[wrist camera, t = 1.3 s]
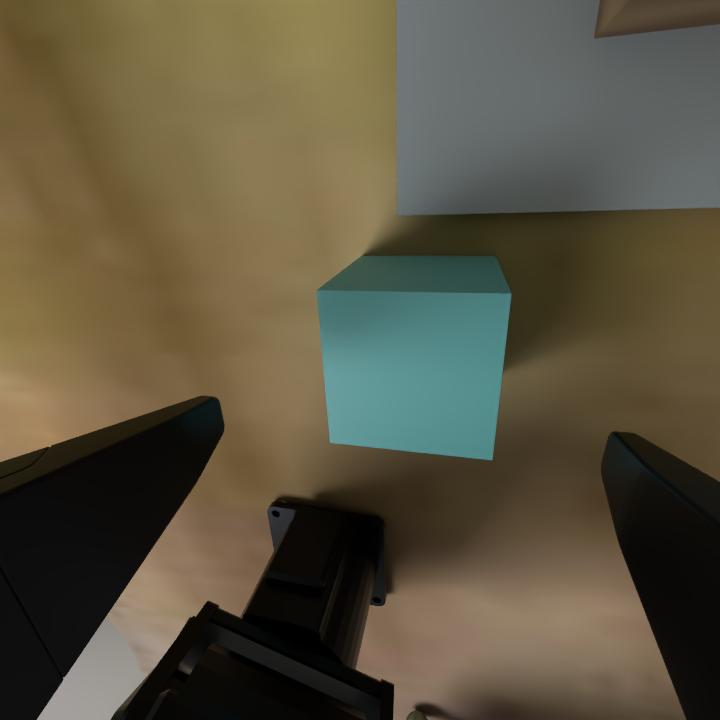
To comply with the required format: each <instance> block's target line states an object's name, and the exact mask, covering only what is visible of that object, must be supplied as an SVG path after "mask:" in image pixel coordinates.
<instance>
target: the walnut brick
mask: <svg viewBox="0 0 720 720" xmlns="http://www.w3.org/2000/svg"><path fill="white" fill-rule="evenodd" d="M717 24H720V0H600V3H599V10H598V16H597V22H596V28H595V35H594V39H595V38H603V37H612V36H621V35H630V34H638V33H647V32H656V31H665V30H674V29H682V28H691V27H700V26H709V25H717Z"/></svg>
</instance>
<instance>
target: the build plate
mask: <svg viewBox="0 0 720 720" xmlns="http://www.w3.org/2000/svg"><path fill="white" fill-rule="evenodd" d="M599 3H600V0H397V216H408V215H447V214H486V213H526V212H565V211H604V210H643V209H682V208H720V24H717V25H709V26H700V27H691V28H682V29H674V30H665V31H656V32H647V33H638V34H630V35H621V36H612V37H603V38H595V39H594V35H595V28H596V22H597V16H598V10H599Z"/></svg>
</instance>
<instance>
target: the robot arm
mask: <svg viewBox="0 0 720 720" xmlns="http://www.w3.org/2000/svg"><path fill="white" fill-rule="evenodd" d="M223 432H224V420H223V415H222V411H221V406H220V402H219V400H218V399H217V398H216V397H213V396H199V397H196V398H193V399H190V400H187V401H184V402H181V403H178V404H175V405H172V406H169V407H166V408H163V409H160V410H157V411H154V412H151V413H148V414H145V415H142V416H139V417H136V418H133V419H130V420H127V421H124V422H121V423H118V424H115V425H112V426H109V427H106V428H103V429H100V430H97V431H94V432H91V433H88V434H85V435H82V436H79V437H76V438H73V439H70V440H67V441H64V442H61V443H58V444H55V445H52V446H51V447H45V448H42V449H39V450H36V451H33V452H30V453H27V454H24V455H21V456H18V457H15V458H12V459H9V460H6V461H3V462H0V720H37V718H38V717H39V715H40V714H41V712H42V711H43V709H44V708H45V706H46V705H47V703H48V702H49V700H50V699H51V697H52V696H53V694H54V693H55V692H56V690H57V689H58V687H59V686H60V684H61V683H62V681H63V677H65V676H66V675H67V673H68V672H69V670H70V669H71V667H72V666H73V664H74V663H75V662H76V660H77V658H78V657H79V656H80V654H81V653H82V651H83V650H84V648H85V647H86V645H87V644H88V642H89V641H90V639H91V638H92V636H93V635H94V634H95V632H96V631H97V629H98V628H99V626H100V625H101V623H102V622H103V620H104V619H105V617H106V616H107V614H108V613H109V611H110V610H111V608H112V607H113V605H114V604H115V603H116V601H117V600H118V598H119V597H120V595H121V594H122V592H123V591H124V589H125V588H126V586H127V585H128V583H129V582H130V580H131V579H132V577H133V576H134V574H135V573H136V572H137V570H138V569H139V567H140V566H141V564H142V563H143V561H144V560H145V558H146V557H147V555H148V554H149V552H150V551H151V549H152V548H153V546H154V545H155V543H156V542H157V541H158V539H159V538H160V536H161V535H162V533H163V532H164V530H165V529H166V527H167V526H168V524H169V523H170V521H171V520H172V518H173V517H174V515H175V514H176V512H177V511H178V510H179V508H180V507H181V505H182V504H183V502H184V501H185V499H186V498H187V496H188V495H189V493H190V492H191V490H192V489H193V487H194V486H195V484H196V482H197V481H198V479H199V477H200V476H201V474H202V472H203V470H204V468H205V466H206V464H207V463H208V461H209V459H210V457H211V455H212V453H213V452H214V450H215V448H216V446H217V444H218V442H219V440H220V439H221V437H222V435H223ZM601 475H602V480H603V484H604V488H605V492H606V496H607V500H608V504H609V508H610V512H611V516H612V520H613V524H614V528H615V532H616V535H617V539H618V542H619V545H620V548H621V551H622V554H623V556H624V559H625V561H626V564H627V567H628V569H629V572H630V574H631V577H632V580H633V582H634V585H635V588H636V590H637V593H638V595H639V598H640V601H641V603H642V606H643V608H644V611H645V614H646V616H647V619H648V621H649V624H650V627H651V629H652V632H653V634H654V637H655V640H656V642H657V645H658V647H659V650H660V653H661V655H662V658H663V660H664V663H665V666H666V668H667V671H668V673H669V676H670V679H671V681H672V684H673V686H674V689H675V692H676V694H677V697H678V699H679V702H680V705H681V707H682V710H683V712H684V715H685V718H686V720H720V482H719V481H717V480H716V479H714V478H712V477H710V476H709V475H707V474H705V473H703V472H702V471H700V470H698V469H696V468H695V467H693V466H691V465H689V464H688V463H686V462H684V461H682V460H681V459H679V458H677V457H675V456H674V455H672V454H670V453H668V452H667V451H665V450H663V449H661V448H660V447H658V446H656V445H654V444H653V443H651V442H649V441H647V440H646V439H644V438H642V437H640V436H639V435H637V434H635V433H629V432H617V431H615V432H612V433H610V435H609V436H608V439H607V443H606V447H605V451H604V455H603V459H602V463H601ZM267 513H268V518H269V524H270V529H271V535H272V540H273V546H274V552H273V554H272V556H271V558H270V560H269V562H268V564H267V566H266V568H265V570H264V572H263V574H262V576H261V578H260V580H259V582H258V584H257V586H256V588H255V590H254V592H253V594H252V595H251V597H250V599H249V601H248V603H247V605H246V607H245V609H244V611H243V613H242V615H241V617H238V616H235V615H233V614H231V613H229V612H226V611H224V610H222V609H220V608H219V605H217V604H215V603H213V602H210V601H207V602H206V604H205V605H204V606H203V608H202V609H201V611H200V612H199V613H198V615H197V616H196V617H195V616H193V617H191V618H189V619H188V621H187V623H186V624H185V626H184V627H183V629H182V631H181V632H180V634H179V635H178V637H177V639H176V640H175V641H174V643H173V644H172V645H171V647H170V648H169V649H168V651H167V652H166V654H165V655H164V656H163V658H162V659H161V660H160V662H159V663H158V665H157V666H156V667H155V668H154V669H153V671H152V672H151V673H150V674H149V675H148V676H147V677H146V678H145V679H144V681H143V682H142V683H141V684H140V685H139V686H138V687H137V688H136V690H135V691H134V692H133V693H132V694H131V695H130V696H129V697H128V698H127V700H126V701H125V702H124V703H123V704H122V705H121V706H120V707H119V708H118V710H117V711H116V712H115V714H114V715H113V717H112V719H111V720H393V704H394V684H392V683H390V682H387V681H385V680H383V679H381V681H379V680H377V679H375V678H372V677H370V676H368V675H366V674H364V673H361V672H359V671H357V670H356V666H357V661H358V656H359V652H360V647H361V643H362V638H363V634H364V629H365V625H366V620H367V615H368V611H369V606H370V605H375V606H383V605H384V604H385V601H386V596H387V590H386V543H385V522H384V521H383V519H381V518H380V517H377V516H372V515H365V514H359V513H352V512H345V511H338V510H332V509H325V508H318V507H311V506H305V505H298V504H291V503H284V502H273V503H272V504H271V505H270V507H269V508H268V512H267ZM373 525H374V526H373ZM375 526H377V527H375Z"/></svg>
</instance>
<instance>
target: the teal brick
mask: <svg viewBox="0 0 720 720" xmlns="http://www.w3.org/2000/svg"><path fill="white" fill-rule="evenodd" d="M317 298H318V310H319V321H320V333H321V345H322V356H323V368H324V379H325V391H326V402H327V414H328V425H329V437H330V443H337V444H346V445H355V446H364V447H373V448H383V449H392V450H401V451H410V452H420V453H429V454H438V455H447V456H457V457H466V458H475V459H484V460H492V459H493V451H494V442H495V433H496V425H497V416H498V407H499V398H500V390H501V381H502V372H503V364H504V355H505V346H506V338H507V329H508V320H509V312H510V303H511V291H510V289H509V286H508V284H507V282H506V279H505V277H504V275H503V272H502V270H501V267H500V265H499V263H498V260H497V258H496V256H361V257H360V258H358V259H357V260H356V261H354V262H353V263H352V264H351V265H349V266H348V267H347V268H345V269H344V270H343V271H341V272H340V273H339V274H337V275H336V276H335V277H334V278H332V279H331V280H330V281H328V282H327V283H326V284H324V285H323V286H322V287H320V288H319V289H318V290H317Z"/></svg>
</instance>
